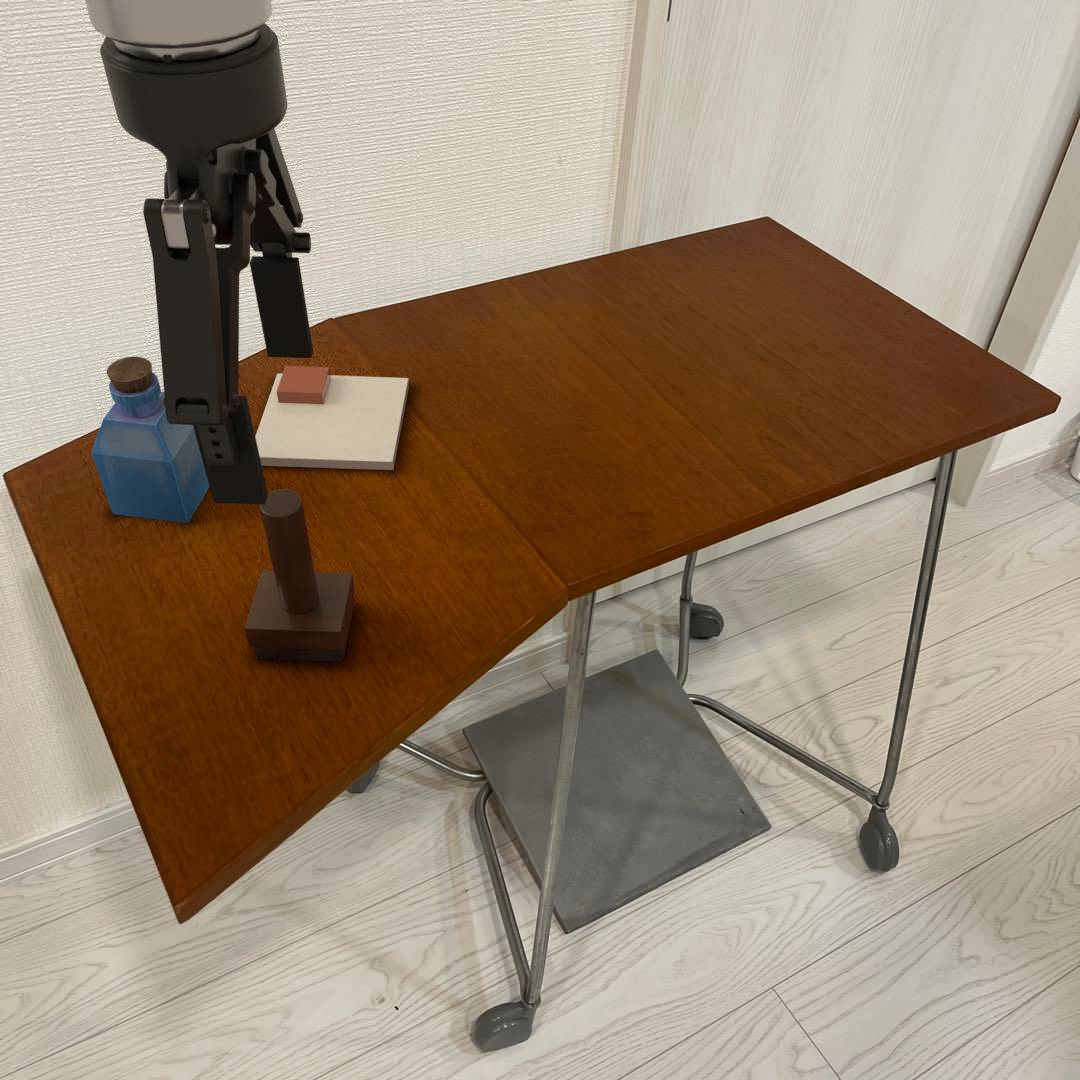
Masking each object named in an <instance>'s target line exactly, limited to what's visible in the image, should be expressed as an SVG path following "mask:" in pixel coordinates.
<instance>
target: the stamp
mask: <svg viewBox="0 0 1080 1080" xmlns="http://www.w3.org/2000/svg"><path fill="white" fill-rule="evenodd" d="M258 506H259V511H260V516H261V520H262V525H263V530H264V533H265V538H266V539H265V540H266V543H267V549H268V553H269V556H270V562H271V566H272V570H261V571H260V575H259V578H258V581H257V585H256V588H255V592H254V595H253V598H252V601H251V605H250V609H249V612H248V615H247V619H246V622H245V626H244V632H245V636H246V639H247V643H248V647H249V648H253V649H254V653H255V657H256V658H255V659H257V660H277V661H279V660H281V661H307V662H308V661H310V662H338V663H339V662H341V663H342V662H344V659H345V654H346V651H347V649H346V648H347V644H348V640H349V636H350V635H349V634H350V631H351V625H352V620H353V616H354V615H353V614H354V611H355V609H354V608H355V607H354V600H355V596H356V590H355V582H354V576H353V573H349V572H348V573H347V572H321V571H320V572H317V571H315V567H314V561H313V554H312V550H311V543H310V538H309V532H308V526H307V520H306V514H305V510H304V505H303V497H302V496H301V495H300V493H298V492H297V491H294V490H292V489H288V488H279V489H274V490H271V491H269V492H268V497H267V501H266V504H265V505H259V504H258Z"/></svg>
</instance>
